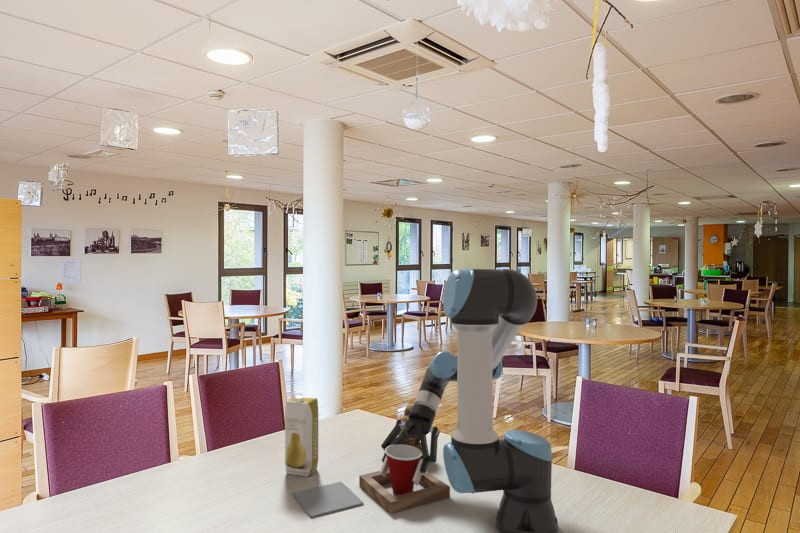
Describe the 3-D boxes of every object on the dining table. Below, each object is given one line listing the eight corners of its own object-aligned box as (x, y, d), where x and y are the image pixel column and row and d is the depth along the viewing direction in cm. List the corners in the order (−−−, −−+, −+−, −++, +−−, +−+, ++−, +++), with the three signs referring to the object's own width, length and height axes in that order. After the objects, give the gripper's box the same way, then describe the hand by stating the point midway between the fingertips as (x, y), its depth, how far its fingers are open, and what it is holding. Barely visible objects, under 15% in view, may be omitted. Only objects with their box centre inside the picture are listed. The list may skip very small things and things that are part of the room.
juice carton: (281, 474, 162) (281, 397, 161) (295, 464, 169) (295, 390, 169) (308, 479, 159) (309, 400, 158) (321, 468, 166) (321, 393, 166)
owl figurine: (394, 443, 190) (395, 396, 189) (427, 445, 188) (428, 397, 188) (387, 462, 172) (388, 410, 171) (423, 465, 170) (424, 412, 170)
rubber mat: (363, 504, 143) (363, 502, 143) (311, 517, 136) (311, 516, 136) (341, 483, 156) (341, 481, 156) (292, 494, 149) (292, 492, 149)
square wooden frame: (449, 497, 148) (449, 486, 148) (390, 513, 138) (390, 502, 138) (414, 472, 164) (414, 462, 164) (359, 485, 155) (359, 475, 155)
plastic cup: (419, 501, 145) (419, 458, 145) (380, 498, 147) (380, 455, 147) (425, 484, 156) (425, 444, 155) (389, 481, 158) (389, 441, 157)
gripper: (461, 421, 158) (438, 493, 145) (397, 409, 170) (370, 475, 157) (454, 408, 154) (430, 481, 141) (388, 397, 165) (360, 464, 152)
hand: (398, 478), depth 149 cm, fingers closed on plastic cup, 10 cm apart
